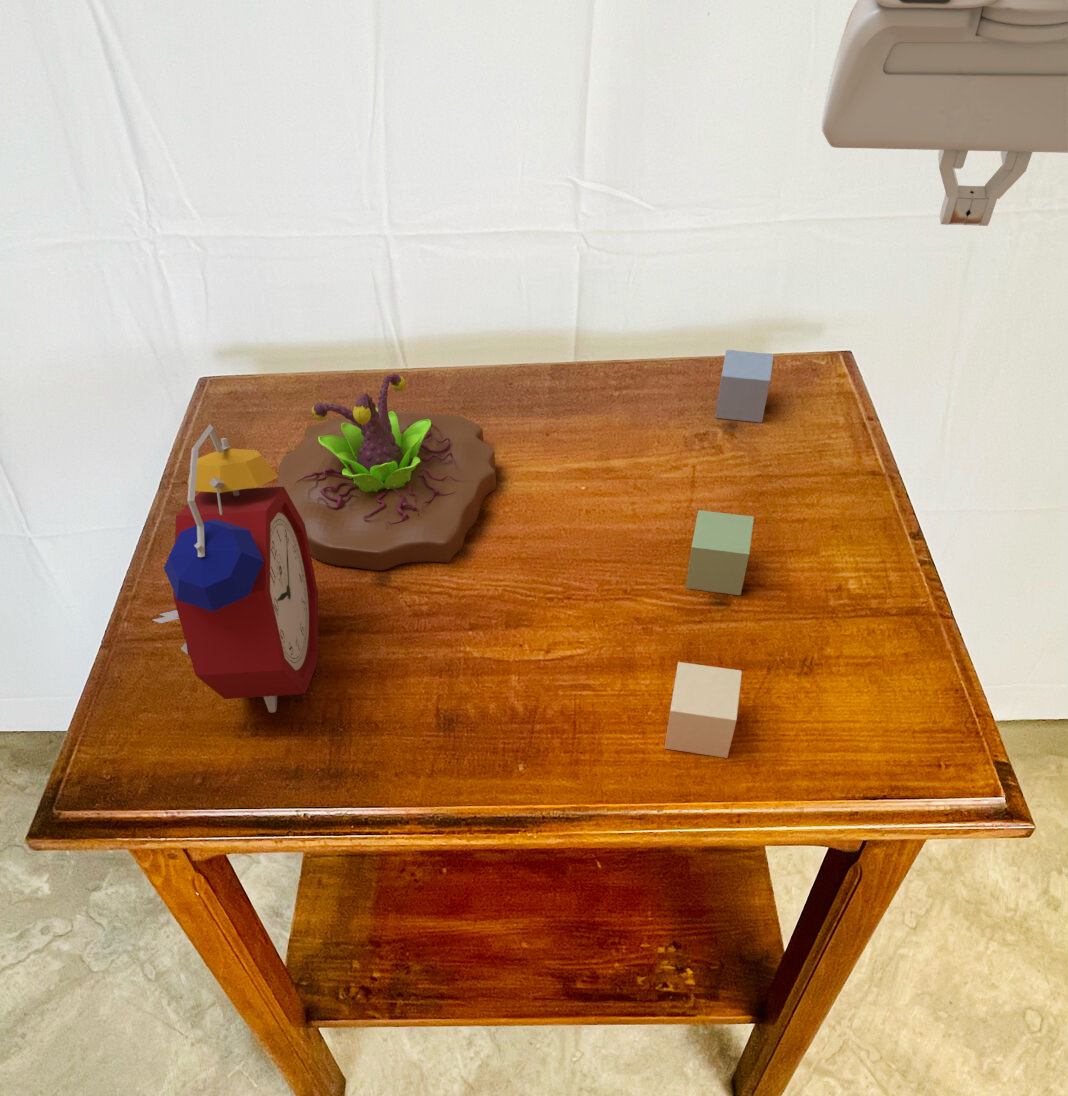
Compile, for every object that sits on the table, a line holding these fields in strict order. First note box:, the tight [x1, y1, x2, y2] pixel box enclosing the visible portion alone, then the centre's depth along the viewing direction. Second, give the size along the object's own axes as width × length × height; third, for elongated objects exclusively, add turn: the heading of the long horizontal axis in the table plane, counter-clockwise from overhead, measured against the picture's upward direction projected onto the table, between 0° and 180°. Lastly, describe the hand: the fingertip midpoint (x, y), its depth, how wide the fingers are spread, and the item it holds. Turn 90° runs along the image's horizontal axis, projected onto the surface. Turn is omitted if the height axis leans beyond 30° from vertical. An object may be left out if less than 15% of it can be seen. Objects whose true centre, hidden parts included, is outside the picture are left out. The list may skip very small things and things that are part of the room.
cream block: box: [664, 661, 743, 759], centre depth 64 cm, size 4×4×4 cm
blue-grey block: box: [714, 349, 774, 424], centre depth 87 cm, size 4×4×4 cm
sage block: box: [685, 509, 755, 596], centre depth 73 cm, size 4×4×4 cm
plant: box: [275, 373, 497, 571], centre depth 78 cm, size 20×20×11 cm
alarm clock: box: [152, 423, 319, 714], centre depth 63 cm, size 15×9×20 cm, turn 3°
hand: (963, 221), depth 59 cm, fingers closed
